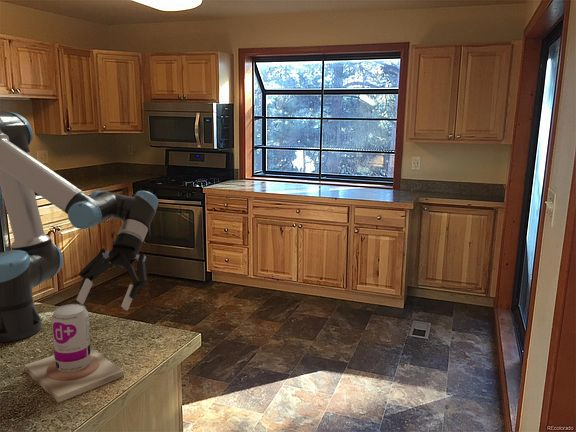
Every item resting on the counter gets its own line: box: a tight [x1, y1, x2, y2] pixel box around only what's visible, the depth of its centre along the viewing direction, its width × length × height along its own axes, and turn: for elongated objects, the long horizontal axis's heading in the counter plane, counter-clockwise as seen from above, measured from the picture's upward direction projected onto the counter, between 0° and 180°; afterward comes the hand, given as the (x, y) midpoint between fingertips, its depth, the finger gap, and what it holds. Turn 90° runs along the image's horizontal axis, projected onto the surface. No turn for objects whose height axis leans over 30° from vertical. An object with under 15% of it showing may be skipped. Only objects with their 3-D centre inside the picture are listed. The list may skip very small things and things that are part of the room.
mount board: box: [24, 346, 125, 404], centre depth 120 cm, size 20×16×2 cm
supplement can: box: [51, 303, 91, 373], centre depth 119 cm, size 8×8×15 cm
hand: (101, 305), depth 130 cm, fingers open, 13 cm apart
